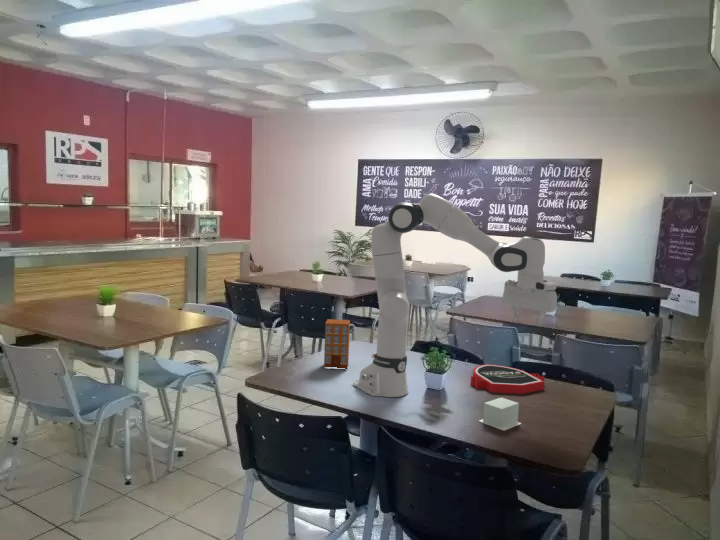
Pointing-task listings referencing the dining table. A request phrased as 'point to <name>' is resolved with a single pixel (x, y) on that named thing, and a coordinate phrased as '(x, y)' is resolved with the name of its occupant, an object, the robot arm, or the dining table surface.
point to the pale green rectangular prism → (500, 412)
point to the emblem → (506, 379)
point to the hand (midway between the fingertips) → (527, 320)
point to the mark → (503, 427)
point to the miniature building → (336, 343)
